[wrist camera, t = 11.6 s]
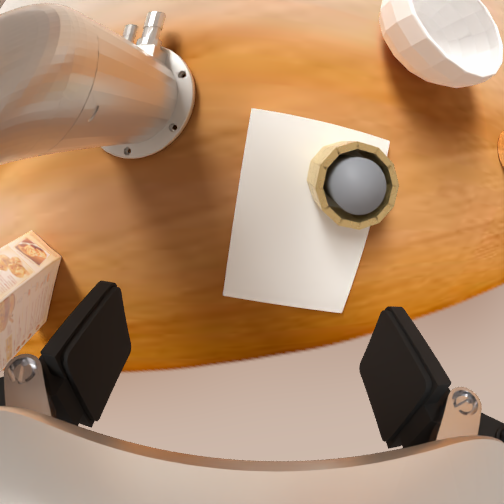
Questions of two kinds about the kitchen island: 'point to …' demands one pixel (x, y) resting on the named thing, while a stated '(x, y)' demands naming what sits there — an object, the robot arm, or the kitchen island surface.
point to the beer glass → (501, 148)
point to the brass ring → (338, 214)
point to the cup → (443, 39)
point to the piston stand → (299, 214)
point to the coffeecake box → (24, 291)
